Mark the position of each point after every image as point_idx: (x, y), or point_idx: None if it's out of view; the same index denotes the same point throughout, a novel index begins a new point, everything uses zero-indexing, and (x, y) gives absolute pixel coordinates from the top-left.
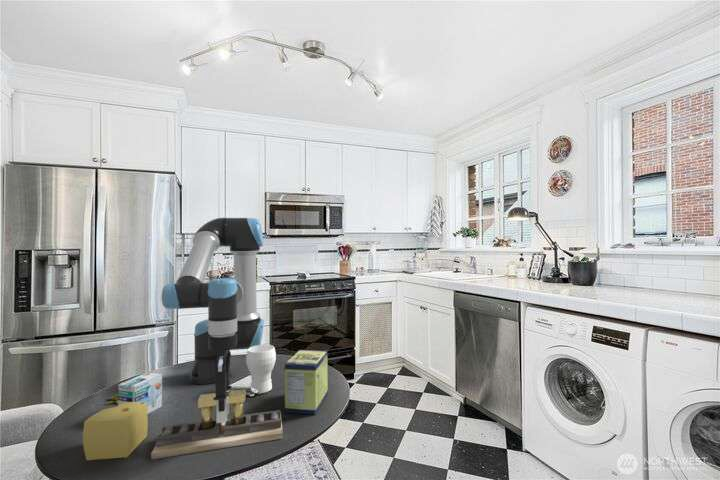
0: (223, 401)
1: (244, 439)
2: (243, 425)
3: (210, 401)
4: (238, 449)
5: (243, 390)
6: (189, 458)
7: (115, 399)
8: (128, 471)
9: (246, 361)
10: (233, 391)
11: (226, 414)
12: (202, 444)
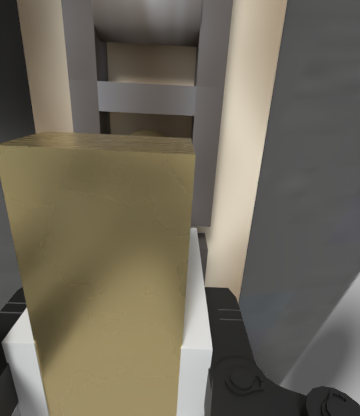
0: (250, 359)
1: (267, 118)
2: (209, 128)
3: None
4: (286, 142)
5: (33, 177)
6: (261, 300)
7: None
8: None
9: None
10: (45, 297)
11: (198, 253)
12: (234, 284)
